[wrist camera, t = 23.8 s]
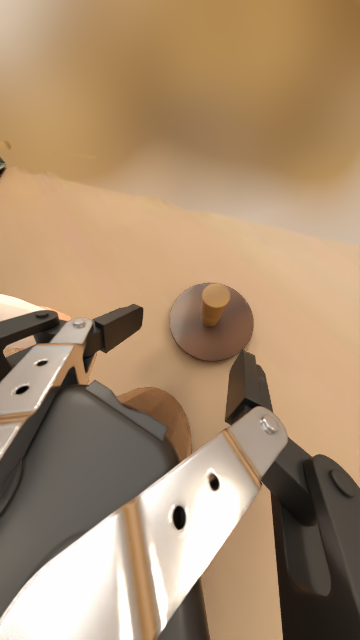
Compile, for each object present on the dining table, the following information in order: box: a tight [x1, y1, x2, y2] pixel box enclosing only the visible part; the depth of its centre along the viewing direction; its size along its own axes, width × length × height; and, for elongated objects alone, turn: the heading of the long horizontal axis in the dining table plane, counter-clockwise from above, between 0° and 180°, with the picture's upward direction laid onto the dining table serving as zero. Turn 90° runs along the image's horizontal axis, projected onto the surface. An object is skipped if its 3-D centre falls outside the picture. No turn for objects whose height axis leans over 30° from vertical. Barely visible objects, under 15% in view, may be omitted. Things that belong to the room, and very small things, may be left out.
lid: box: [170, 283, 253, 361], centre depth 17 cm, size 12×12×8 cm
